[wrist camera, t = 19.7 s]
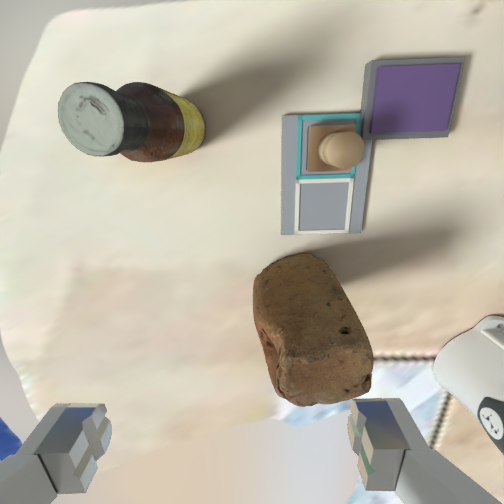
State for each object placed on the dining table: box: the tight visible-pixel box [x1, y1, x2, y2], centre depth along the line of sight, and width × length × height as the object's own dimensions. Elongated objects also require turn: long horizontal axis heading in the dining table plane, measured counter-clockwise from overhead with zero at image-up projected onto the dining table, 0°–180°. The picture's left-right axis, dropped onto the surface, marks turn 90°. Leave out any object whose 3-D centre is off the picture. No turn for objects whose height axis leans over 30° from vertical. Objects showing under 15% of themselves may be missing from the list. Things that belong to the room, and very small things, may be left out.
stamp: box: [306, 124, 365, 172], centre depth 31 cm, size 5×5×8 cm
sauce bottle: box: [58, 82, 205, 162], centre depth 25 cm, size 6×6×20 cm
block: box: [253, 254, 374, 407], centre depth 33 cm, size 11×8×20 cm
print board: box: [281, 113, 372, 235], centre depth 36 cm, size 11×15×1 cm
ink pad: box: [360, 57, 465, 140], centre depth 32 cm, size 10×8×2 cm
